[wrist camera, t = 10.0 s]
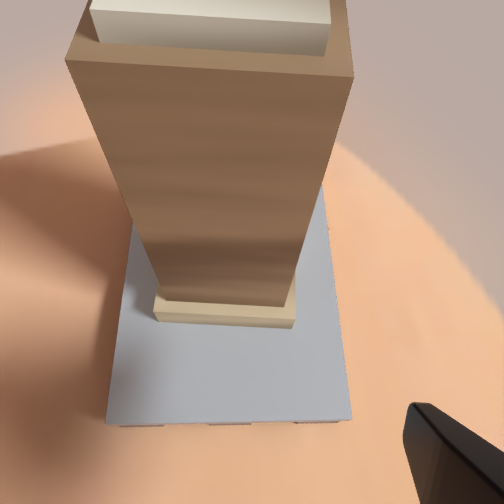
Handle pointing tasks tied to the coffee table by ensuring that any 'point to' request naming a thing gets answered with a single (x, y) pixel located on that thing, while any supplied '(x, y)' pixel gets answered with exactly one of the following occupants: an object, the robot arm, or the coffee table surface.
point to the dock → (231, 354)
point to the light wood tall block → (217, 140)
